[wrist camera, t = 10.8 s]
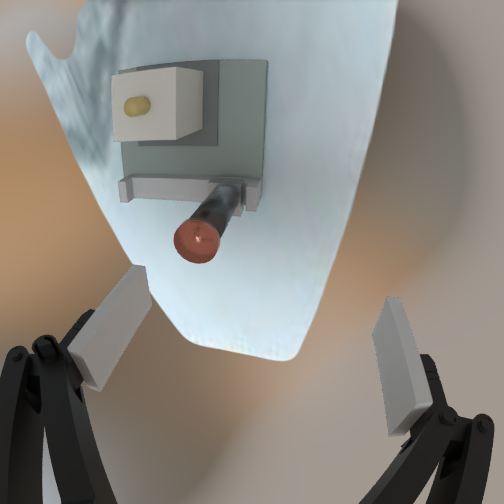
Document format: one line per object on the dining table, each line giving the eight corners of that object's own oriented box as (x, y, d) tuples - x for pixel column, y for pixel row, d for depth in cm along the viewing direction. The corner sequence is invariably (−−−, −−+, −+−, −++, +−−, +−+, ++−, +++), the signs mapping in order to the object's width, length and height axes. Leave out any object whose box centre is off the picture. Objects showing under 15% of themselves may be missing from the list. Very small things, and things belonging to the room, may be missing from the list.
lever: (212, 177, 29) (171, 220, 20) (244, 179, 29) (216, 224, 20) (212, 206, 31) (175, 260, 22) (243, 209, 30) (217, 265, 21)
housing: (148, 75, 26) (100, 76, 18) (203, 71, 25) (167, 65, 18) (149, 129, 29) (103, 146, 21) (202, 128, 28) (168, 143, 21)
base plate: (125, 70, 27) (103, 70, 23) (267, 61, 25) (262, 56, 22) (131, 188, 35) (113, 202, 31) (261, 196, 33) (256, 211, 29)
